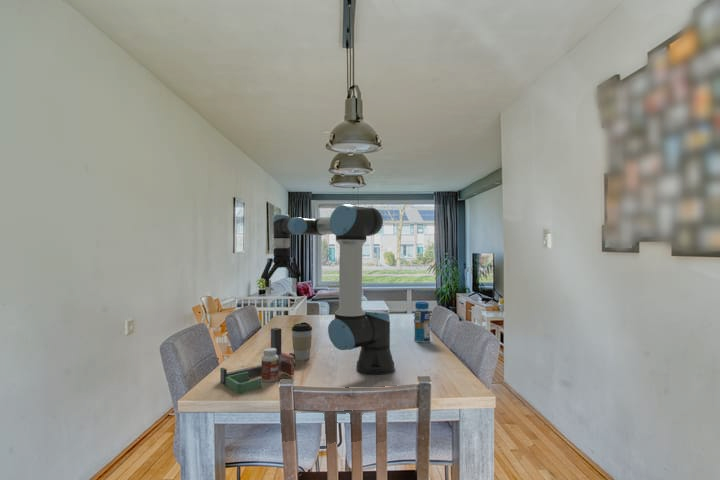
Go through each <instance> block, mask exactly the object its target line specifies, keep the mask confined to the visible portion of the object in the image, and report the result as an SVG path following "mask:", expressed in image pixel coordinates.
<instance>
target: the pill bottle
mask: <svg viewBox="0 0 720 480" xmlns="http://www.w3.org/2000/svg"><path fill="white" fill-rule="evenodd" d="M276 352H277V349H276V348H271V347H267V348H264V349H263V355H262V357H261V365H262V372H261V375H260V376H261V379H262V382H266V383H272V382H276V381H277V380H279V371H280V370H279V358H278V355H276ZM275 380H276V381H275Z"/></svg>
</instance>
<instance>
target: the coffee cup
mask: <svg viewBox="0 0 720 480" xmlns="http://www.w3.org/2000/svg"><path fill="white" fill-rule="evenodd" d="M312 331H313V326H311V324H310V323H308V322H300V323H295V324H294V325H293V326H292V327H291V332H292V334H291V336H292V338H291V340H292V350H293V354H295V361H306V360H309V359H310V358H311V348H312V336H313V335H312V333H313V332H312Z"/></svg>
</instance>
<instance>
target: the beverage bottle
mask: <svg viewBox="0 0 720 480" xmlns="http://www.w3.org/2000/svg"><path fill="white" fill-rule="evenodd" d="M414 304H415V309H416V310H415V312H414V315H413V317H414V319H413V323H414V324H413V325H414V339H413V340H414V342H416V343H420V342H422V344H423V343H424V344H426V343H429V342H430V341H431V319H430V317H431V314H430V312H429V309H430V308H429V305H430V304H429V302H428V301H416V302H415V303H414Z"/></svg>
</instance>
